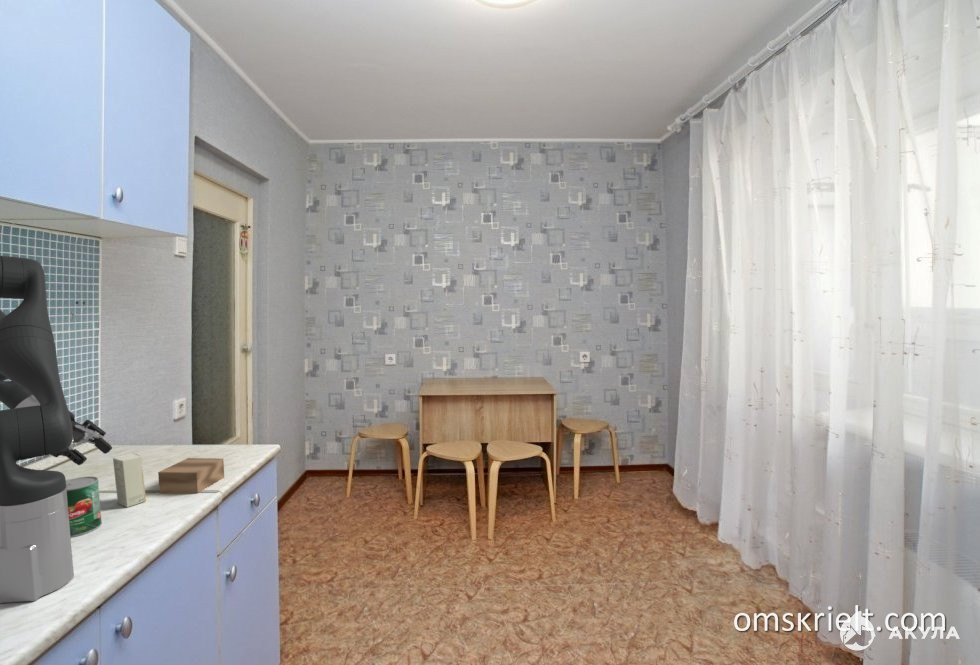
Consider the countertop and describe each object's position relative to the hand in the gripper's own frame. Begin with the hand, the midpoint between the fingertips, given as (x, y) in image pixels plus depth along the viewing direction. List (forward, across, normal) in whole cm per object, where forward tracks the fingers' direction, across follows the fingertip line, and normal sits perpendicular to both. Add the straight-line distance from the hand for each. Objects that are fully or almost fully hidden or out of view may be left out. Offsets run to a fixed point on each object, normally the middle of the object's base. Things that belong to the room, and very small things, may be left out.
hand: (96, 456), depth 117 cm
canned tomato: (+13, -14, +5) cm, 20 cm away
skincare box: (+14, 0, +4) cm, 15 cm away
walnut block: (+21, +10, -3) cm, 24 cm away
